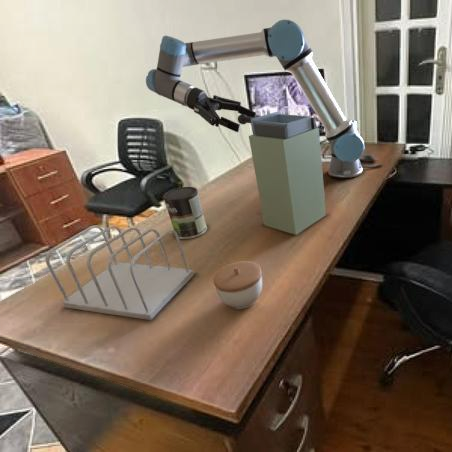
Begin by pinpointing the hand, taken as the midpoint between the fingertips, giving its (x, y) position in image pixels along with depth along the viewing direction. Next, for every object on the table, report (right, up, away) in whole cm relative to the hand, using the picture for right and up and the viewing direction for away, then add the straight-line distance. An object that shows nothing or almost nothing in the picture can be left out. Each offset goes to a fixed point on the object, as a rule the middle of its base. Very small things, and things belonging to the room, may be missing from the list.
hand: (247, 122), depth 123 cm
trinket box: (+9, -54, -39) cm, 68 cm away
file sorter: (-21, -53, -33) cm, 66 cm away
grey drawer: (+10, -7, -14) cm, 19 cm away
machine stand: (+17, -35, -4) cm, 39 cm away
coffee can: (-17, -39, -6) cm, 43 cm away
